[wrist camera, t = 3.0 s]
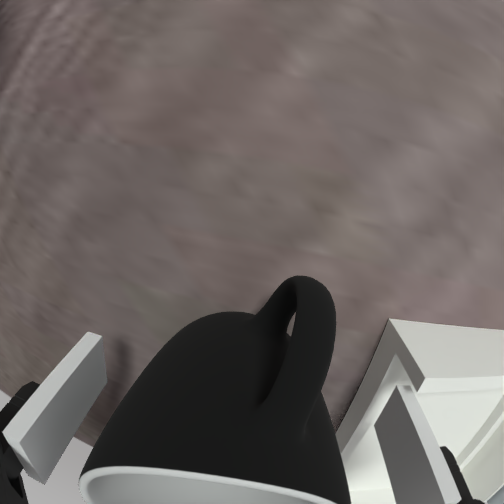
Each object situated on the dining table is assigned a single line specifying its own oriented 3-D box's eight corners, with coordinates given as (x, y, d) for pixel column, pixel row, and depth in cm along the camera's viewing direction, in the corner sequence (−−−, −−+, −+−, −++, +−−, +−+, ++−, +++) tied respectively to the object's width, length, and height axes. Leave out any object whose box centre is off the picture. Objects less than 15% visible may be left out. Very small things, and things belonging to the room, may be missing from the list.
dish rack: (303, 486, 20) (306, 545, 15) (389, 318, 15) (434, 393, 10) (488, 463, 21) (506, 500, 15) (574, 333, 15) (611, 367, 10)
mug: (274, 430, 18) (272, 570, 9) (141, 382, 17) (77, 517, 8) (382, 276, 15) (493, 429, 5) (209, 196, 14) (90, 299, 4)
